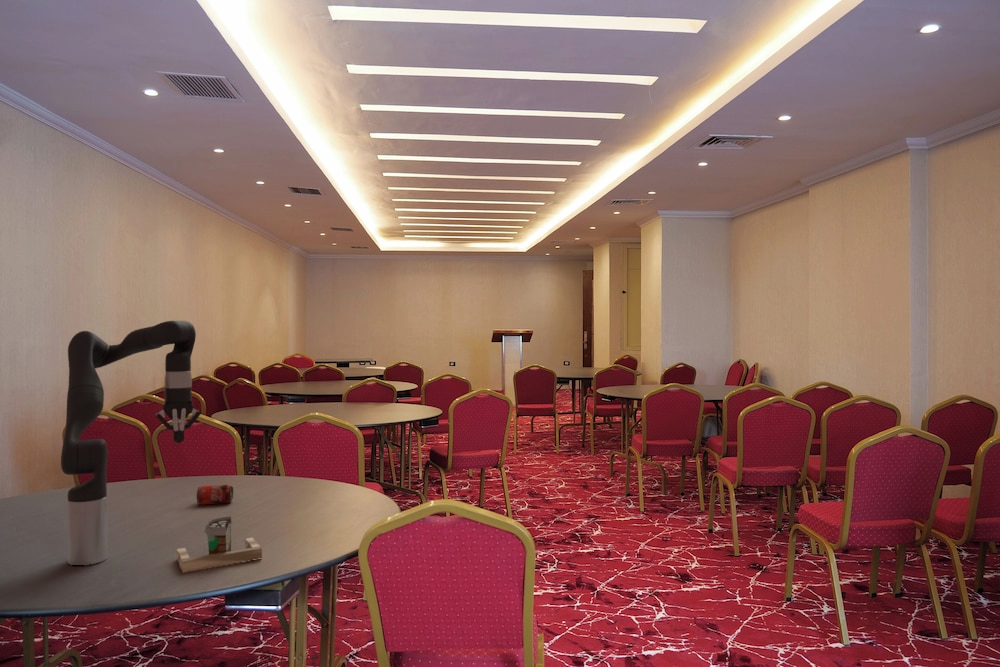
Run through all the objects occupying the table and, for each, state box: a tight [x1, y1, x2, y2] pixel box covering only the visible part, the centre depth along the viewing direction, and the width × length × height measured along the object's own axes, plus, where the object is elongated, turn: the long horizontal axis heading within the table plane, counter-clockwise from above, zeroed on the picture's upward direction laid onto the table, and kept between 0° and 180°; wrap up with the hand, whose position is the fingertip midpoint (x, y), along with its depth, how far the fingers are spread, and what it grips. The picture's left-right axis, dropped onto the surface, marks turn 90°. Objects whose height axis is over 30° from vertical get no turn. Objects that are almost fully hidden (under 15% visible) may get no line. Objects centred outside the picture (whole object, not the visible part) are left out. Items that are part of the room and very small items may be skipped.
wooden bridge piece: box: [176, 537, 263, 574], centre depth 190 cm, size 12×20×3 cm, turn 122°
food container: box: [204, 515, 233, 555], centre depth 191 cm, size 12×6×10 cm, turn 14°
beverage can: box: [196, 484, 234, 506], centre depth 252 cm, size 7×12×7 cm, turn 101°
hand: (178, 442), depth 210 cm, fingers closed
